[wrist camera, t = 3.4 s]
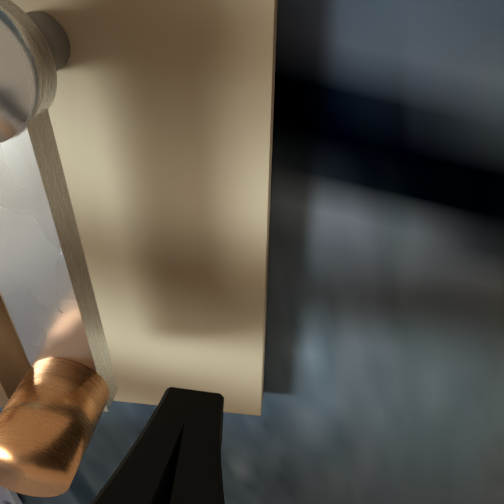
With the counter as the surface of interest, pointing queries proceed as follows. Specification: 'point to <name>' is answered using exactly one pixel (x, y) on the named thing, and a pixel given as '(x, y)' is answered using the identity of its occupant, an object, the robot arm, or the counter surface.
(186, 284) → the door board
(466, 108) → the counter surface
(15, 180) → the bar
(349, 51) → the counter surface
